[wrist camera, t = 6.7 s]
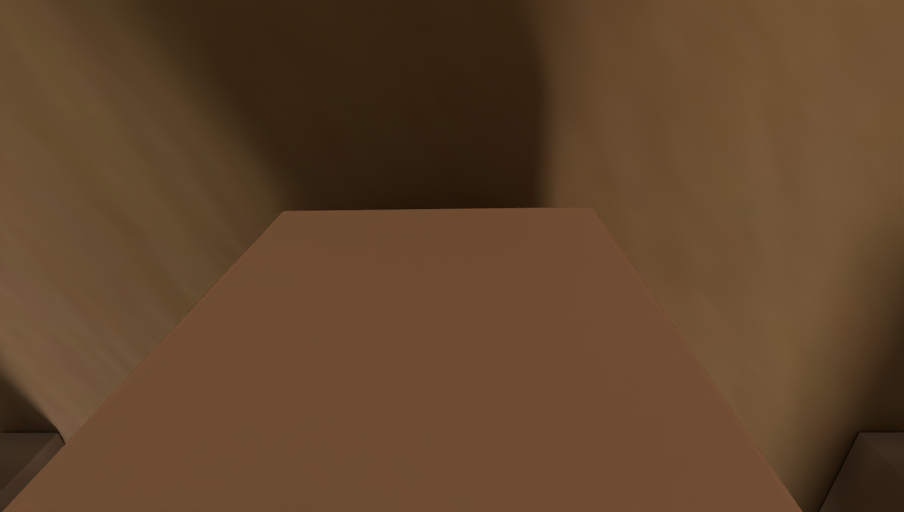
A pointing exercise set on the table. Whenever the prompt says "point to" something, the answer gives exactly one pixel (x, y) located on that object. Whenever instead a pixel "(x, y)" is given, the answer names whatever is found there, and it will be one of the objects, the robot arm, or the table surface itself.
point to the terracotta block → (418, 382)
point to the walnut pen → (846, 508)
